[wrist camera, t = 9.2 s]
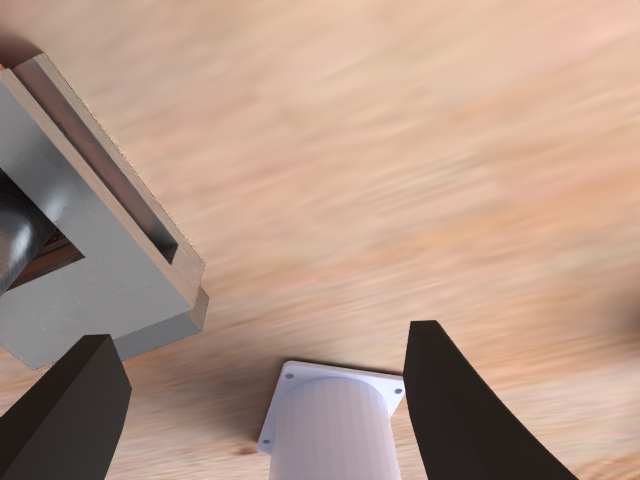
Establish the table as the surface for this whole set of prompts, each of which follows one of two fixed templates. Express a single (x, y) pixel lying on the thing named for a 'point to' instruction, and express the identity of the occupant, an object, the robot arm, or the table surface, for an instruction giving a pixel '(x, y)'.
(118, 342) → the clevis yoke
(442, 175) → the table surface
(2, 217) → the pin
